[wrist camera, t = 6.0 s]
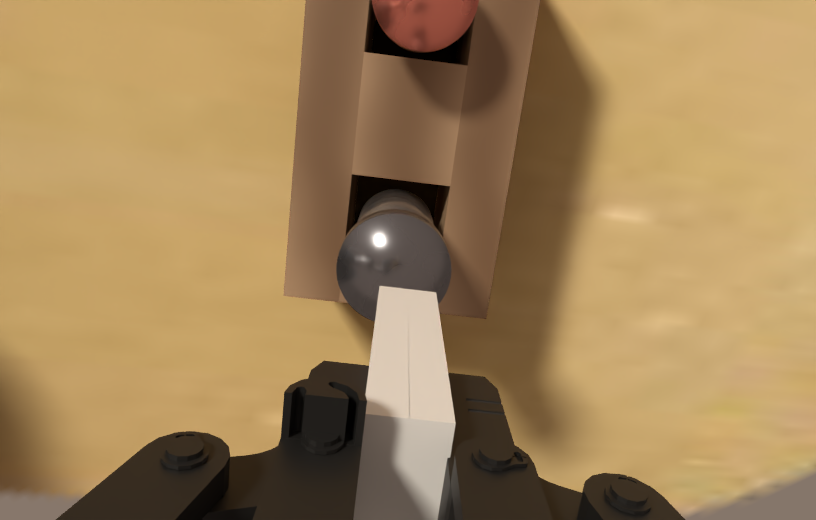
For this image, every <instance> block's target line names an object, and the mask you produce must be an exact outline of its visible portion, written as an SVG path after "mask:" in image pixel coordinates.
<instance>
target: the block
mask: <svg viewBox="0 0 816 520" xmlns="http://www.w3.org/2000/svg"><path fill="white" fill-rule="evenodd" d="M539 4H540V0H479V3H478V8H477V11H476V14H475V17H474V19H473V21H472V23H471V24H470V26H469V28H468V29H467V30H466V31H465V33H464V34H463V35H462V36H461V37H460V38H459V39H458V46H457V54H456V61H455V64H451V63H444V62H436V61H429V60H421V59H413V58H406V57H398V56H391V55H383V54H376V53H372V46H373V36H374V27H375V17H376V16H375V13H374V10H373V5H372V0H306V4H305V17H304V30H303V44H302V57H301V71H300V84H299V97H298V111H297V124H296V137H295V151H294V164H293V177H292V191H291V204H290V217H289V231H288V244H287V257H286V271H285V284H284V296H290V297H299V298H308V299H317V300H325V301H334V302H343V303H348V302H347V301H346V299H345V298H344V296H343V294H342V292H341V290H340V288H339V285H338V281H337V274H336V264H337V258H338V255H339V251H340V248H341V246H342V243H343V241H344V239H345V237H346V235H347V234H348V232H349V231H350V230H351V228H352V227H353V226H354V219H355V210H356V200H357V190H358V181H359V175H362V176H371V177H379V178H387V179H395V180H403V181H411V182H419V183H427V184H436V185H438V190H437V197H436V205H435V212H434V219H433V224H434V226H435V227H436V228H437V229H438V231H439V232H440V234H441V235H442V237H443V239H444V241H445V243H446V246H447V249H448V252H449V255H450V260H451V279H450V284H449V287H448V290H447V292H446V294H445V296H444V298H443V299H442V301H441V302H440V303H439V304H438V308H439V313H440V314H449V315H458V316H466V317H475V318H484V319H486V316H487V310H488V305H489V299H490V293H491V287H492V281H493V275H494V269H495V263H496V257H497V252H498V246H499V240H500V234H501V228H502V222H503V216H504V210H505V204H506V199H507V193H508V187H509V181H510V175H511V169H512V163H513V157H514V152H515V146H516V140H517V134H518V128H519V122H520V116H521V110H522V104H523V99H524V93H525V87H526V81H527V75H528V69H529V63H530V57H531V52H532V46H533V40H534V34H535V28H536V22H537V16H538V10H539Z"/></svg>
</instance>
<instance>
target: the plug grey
mask: <svg viewBox="0 0 816 520" xmlns="http://www.w3.org/2000/svg"><path fill="white" fill-rule="evenodd" d="M336 274H337V281H338V285H339V288H340V290H341V292H342V294H343V296H344V298H345V299H346V301H347V302H348V303H349V305H350V306H351V307H352V308H353V309H354V310H355V311H357V312H358V313H359V314H361V315H362V316H364V317H366V318H367V319H370V320H372V321H375V317H376V309H377V301H378V294H379V286H386V287H395V288H403V289H412V290H421V291H429V292H436V295H437V301H438V304H439V303H440V302H441V301H442V299H443V298H444V296H445V294H446V292H447V290H448V287H449V284H450V279H451V260H450V255H449V252H448V249H447V246H446V243H445V241H444V239H443V237H442V235H441V234H440V232H439V231H438V229H437V228H436V227H435V226H434V224H433V220H432V216H431V213H430V211H429V209H428V207H427V205H426V204H425V203H424V202H423V200H422V199H420V198H419V197H418V196H417V195H415V194H413V193H411V192H409V191H406V190H402V189H389V190H384V191H382V192H379V193H377V194H375V195H374V196H372V197H371V198H370V199H369V200H368V201H367V202H366V203H365V205H364V206H363V208H362V210H361V212H360V215H359V218H358V222H357V223H356V224H355V225H354V226H353V227H352V228H351V230H350V231H349V232H348V234H347V235H346V237H345V239H344V241H343V243H342V246H341V248H340V251H339V255H338V258H337V264H336Z"/></svg>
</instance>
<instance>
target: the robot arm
mask: <svg viewBox="0 0 816 520" xmlns="http://www.w3.org/2000/svg"><path fill="white" fill-rule="evenodd" d="M56 520H685V519H684V518H683V517H682V516H681V515H680V514H679V513H678V512H677V511H676V510H675V508H674V507H673V506H672V505H671V504H670V503H669V502H668V501H667V500H666V499H665V498H664V497H663V496H662V495H660V494H659V493H658V492H657V491H655V490H654V489H653V488H652V487H650V486H648V485H646V484H644V483H642V482H640V481H639V480H637V479H635V478H632V477H629V476H628V477H627V476H626V475H621V474H609V473H602V474H598V475H593V476H591V477H590V478H589V479H588V480H586V481H585V484H584V488H583V492H582V493H581V492H577V491H574V490H571V489H568V488H564V487H561V486H558V485H555V484H553V483H550V482H548V481H545V480H544V479H542V478H540V477H538V474H537V471H536V468H535V465H534V463H533V462H532V460H531V458H530V457H529V455H528V454H526V453H525V452H524V451H522V450H521V449H520V448H519V447H517V446H515V445H514V442H513V439H512V436H511V432H510V429H509V426H508V422H507V419H506V416H505V415H504V409H503V406H502V405H501V399H500V396H499V393H498V389H497V388H496V387H495V386H494V385H493V384H491V383H490V382H489V381H488V380H487V379H486V378H485V377H481V376H472V375H463V374H454V373H448V369H447V362H446V355H445V348H444V342H443V335H442V328H441V322H440V315H439V308H438V301H437V295H436V292H429V291H421V290H412V289H403V288H395V287H386V286H379V294H378V301H377V309H376V317H375V325H374V332H373V340H372V348H371V356H370V363H369V366H366V365H357V364H348V363H339V362H330V361H323V362H322V363H320V364H319V365H318V366H316V367H315V368H314V369H312V370H311V372H310V375H309V378H308V379H304V380H300V381H298V382H296V383H294V384H292V385H290V386H289V387H288V389H287V390H286V391H285V392H284V405H283V418H282V431H281V439H280V442H279V445H278V446H277V447H275V448H273V449H271V450H268V451H265V452H262V453H259V454H253V455H246V456H236V457H230V452H229V446H228V445H227V444H226V443H225V442H224V441H223V440H222V439H220V438H218V437H215V436H213V435H211V434H208V433H200V432H192V431H186V432H178V433H173V434H170V435H166V436H163V437H159V438H158V439H156V440H154V441H152V442H151V443H149V444H147V445H146V446H145V447H143V448H142V449H141V450H140V451H139V452H137V453H136V454H135V455H134V456H132V457H131V458H130V459H129V460H128V461H126V462H125V463H124V464H123V465H122V466H120V467H119V468H118V469H117V470H115V471H114V472H113V473H112V474H111V475H109V476H108V477H107V478H106V479H105V480H103V481H102V482H101V483H100V484H99V485H97V486H96V487H95V488H94V489H92V490H91V491H90V492H89V493H88V494H86V495H85V496H84V497H83V498H82V499H80V500H79V501H78V502H77V503H75V504H74V505H73V506H72V507H71V508H69V509H68V510H67V511H66V512H65V513H63V514H62V515H61V516H60V517H59V518H57V519H56Z"/></svg>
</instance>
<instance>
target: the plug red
mask: <svg viewBox="0 0 816 520" xmlns="http://www.w3.org/2000/svg"><path fill="white" fill-rule="evenodd" d="M478 3H479V0H372V5H373V10H374V13H375V16H376V19H377V21H378V23H379V25H380V27H381V28H382V30H383V31H384V33H385V34H386V35H387V36H388V37H389V38H390V39H391V40H392V41H393V42H395V43H396V44H397V45H398V46H400V47H401V48H403V49H405V50H407V51H410V52H414V53H424V52H433V51H438V50H440V49H443V48H445V47H447V46H449V45H451V44H452V43H454V42H455V41H456V40H458V39H459V38H460V37H461V36H462V35H463V34H464V33H465V31H466V30H467V29H468V28H469V26H470V24H471V23H472V21H473V19H474V17H475V14H476V11H477V8H478Z"/></svg>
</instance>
